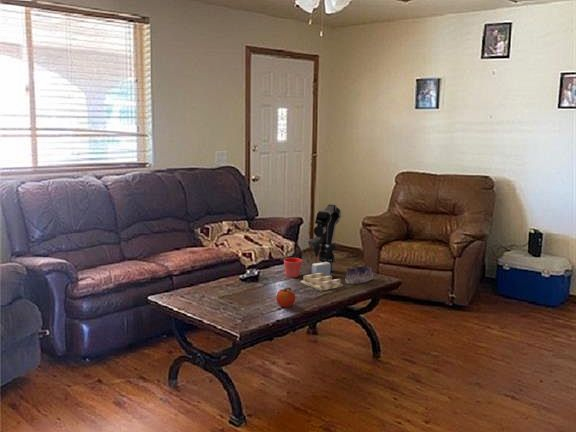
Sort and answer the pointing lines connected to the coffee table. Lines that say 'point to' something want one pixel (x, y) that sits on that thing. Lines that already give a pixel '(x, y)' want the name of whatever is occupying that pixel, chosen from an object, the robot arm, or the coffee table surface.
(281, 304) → the fruit
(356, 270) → the geode
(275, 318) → the coffee table surface
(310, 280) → the rack
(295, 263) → the flower pot
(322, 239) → the robot arm
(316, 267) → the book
